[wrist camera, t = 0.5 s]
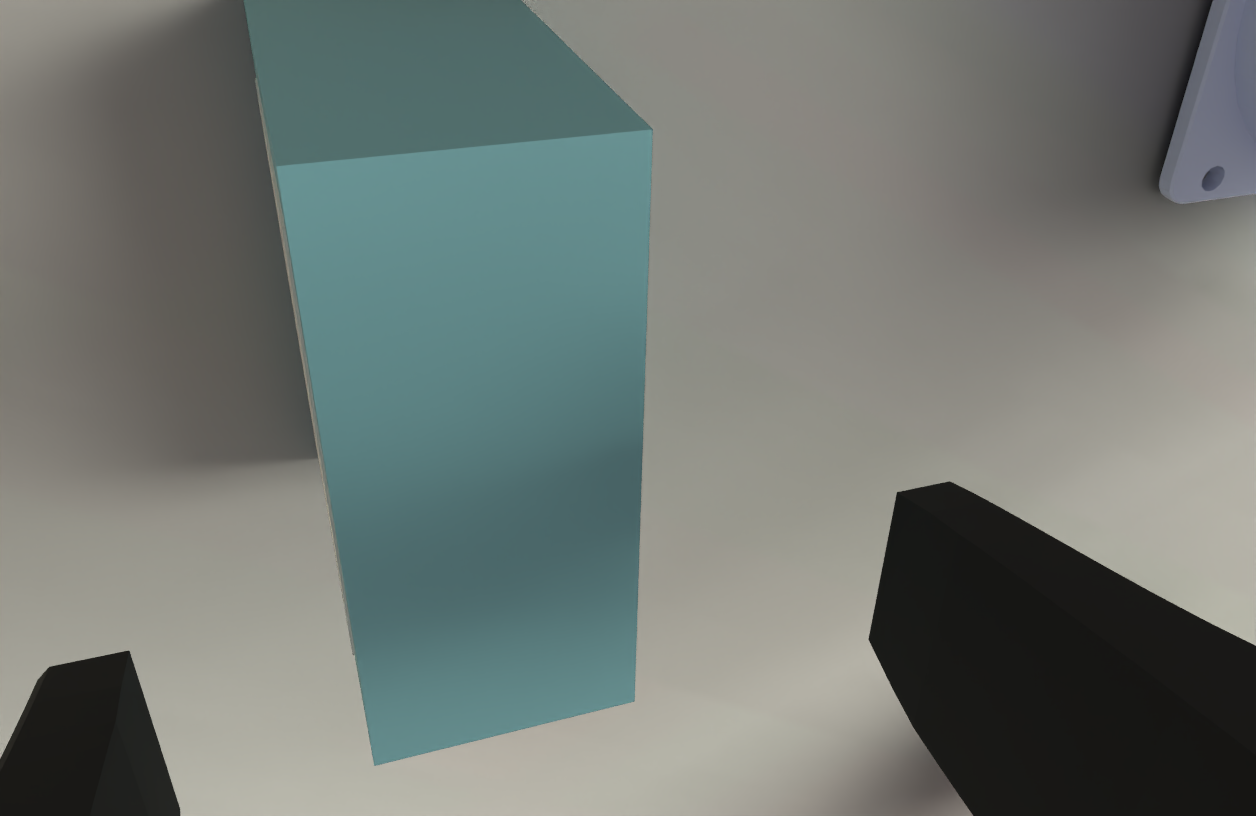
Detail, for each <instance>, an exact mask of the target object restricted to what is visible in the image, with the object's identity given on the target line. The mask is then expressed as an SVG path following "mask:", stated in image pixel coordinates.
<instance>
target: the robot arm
mask: <svg viewBox="0 0 1256 816" xmlns="http://www.w3.org/2000/svg"><path fill="white" fill-rule="evenodd" d="M1208 171H1209V172H1208ZM1207 172H1208V174H1207V176H1206V177H1205V178H1204V176H1205V174H1206V173H1207ZM1203 178H1204V179H1203ZM1159 189H1160V192H1161V194H1162V195H1163V196H1165V197H1166V198H1168V199H1169V200H1171V201H1173V202H1175V203H1178V204H1188V203H1195V202H1202V201H1210V200H1217V199H1224V198H1231V197H1239V196H1246V195H1253V194H1256V0H1213V1H1212V5H1211V8H1210V12H1209V15H1208V18H1207V22H1206V25H1205V28H1204V32H1203V35H1202V38H1201V42H1200V45H1199V48H1198V52H1197V55H1196V58H1195V62H1194V65H1193V68H1192V72H1191V75H1190V79H1189V82H1188V85H1187V89H1186V92H1185V95H1184V99H1183V102H1182V105H1181V109H1180V112H1179V115H1178V119H1177V122H1176V125H1175V129H1174V132H1173V136H1172V139H1171V142H1170V146H1169V149H1168V152H1167V156H1166V159H1165V162H1164V166H1163V169H1162V172H1161V176H1160V182H1159ZM869 641H870V643H871V645H872V647H873V649H874V652H875V654H876V656H877V658H878V660H879V662H880V664H881V666H882V668H883V670H884V672H885V674H886V676H887V678H888V680H889V682H890V684H891V686H892V688H893V690H894V692H895V694H896V696H897V698H898V699H899V701H900V703H901V705H902V707H903V709H904V711H905V713H906V714H907V716H908V718H909V720H910V722H911V724H912V726H913V727H914V729H915V730H916V732H917V733H918V735H919V737H920V738H921V740H922V741H923V743H924V744H925V746H926V747H927V749H928V750H929V752H930V753H931V755H932V756H933V757H934V759H935V760H936V762H937V763H938V765H939V766H940V768H941V769H942V771H943V772H944V774H945V775H946V777H947V778H948V779H949V781H950V782H951V784H952V785H953V787H954V788H955V790H956V791H957V793H958V794H959V796H960V797H961V799H962V800H963V801H964V803H965V804H966V806H967V807H968V809H969V810H970V811H971V813H972V814H973V816H1256V646H1255V645H1253V644H1251V643H1249V642H1247V641H1245V640H1243V639H1241V638H1239V637H1237V636H1235V635H1233V634H1231V633H1229V632H1227V631H1225V630H1223V629H1221V628H1219V627H1217V626H1215V625H1213V624H1211V623H1209V622H1207V621H1205V620H1203V619H1201V618H1199V617H1197V616H1195V615H1193V614H1192V613H1190V612H1188V611H1186V610H1184V609H1182V608H1180V607H1178V606H1176V605H1174V604H1172V603H1171V602H1169V601H1167V600H1165V599H1163V598H1161V597H1159V596H1158V595H1156V594H1154V593H1152V592H1150V591H1148V590H1147V589H1145V588H1143V587H1141V586H1139V585H1137V584H1136V583H1134V582H1132V581H1130V580H1128V579H1127V578H1125V577H1123V576H1121V575H1119V574H1117V573H1116V572H1114V571H1112V570H1110V569H1108V568H1107V567H1105V566H1103V565H1101V564H1100V563H1098V562H1096V561H1094V560H1092V559H1091V558H1089V557H1087V556H1085V555H1084V554H1082V553H1080V552H1078V551H1076V550H1075V549H1073V548H1071V547H1069V546H1068V545H1066V544H1064V543H1062V542H1061V541H1059V540H1057V539H1055V538H1054V537H1052V536H1050V535H1048V534H1046V533H1045V532H1043V531H1041V530H1039V529H1038V528H1036V527H1034V526H1032V525H1031V524H1029V523H1027V522H1025V521H1023V520H1022V519H1020V518H1018V517H1016V516H1014V515H1013V514H1011V513H1009V512H1007V511H1005V510H1004V509H1002V508H1000V507H998V506H996V505H995V504H993V503H991V502H989V501H987V500H985V499H983V498H982V497H980V496H978V495H976V494H974V493H972V492H970V491H968V490H966V489H964V488H962V487H960V486H958V485H956V484H954V483H952V482H945V483H940V484H935V485H930V486H925V487H921V488H916V489H911V490H906V491H901V492H897V495H896V500H895V506H894V511H893V516H892V521H891V526H890V531H889V537H888V542H887V547H886V552H885V557H884V563H883V568H882V573H881V578H880V583H879V588H878V594H877V599H876V604H875V609H874V614H873V619H872V625H871V630H870V635H869ZM0 816H180V807H179V804H178V801H177V798H176V795H175V792H174V789H173V786H172V782H171V779H170V776H169V773H168V770H167V767H166V764H165V761H164V757H163V754H162V751H161V748H160V745H159V742H158V739H157V736H156V732H155V729H154V726H153V723H152V720H151V717H150V714H149V711H148V707H147V704H146V701H145V698H144V695H143V692H142V689H141V686H140V683H139V679H138V676H137V673H136V670H135V667H134V664H133V661H132V658H131V654H130V651H124V652H119V653H114V654H110V655H105V656H100V657H95V658H90V659H85V660H80V661H76V662H71V663H66V664H61V665H56V666H51V667H49V668H48V669H47V670H46V671H45V672H44V673H43V675H42V676H41V677H40V678H39V679H38V681H37V683H36V685H35V687H34V689H33V691H32V694H31V696H30V698H29V700H28V702H27V705H26V707H25V709H24V711H23V713H22V715H21V717H20V719H19V721H18V724H17V726H16V728H15V730H14V732H13V734H12V736H11V738H10V740H9V742H8V744H7V746H6V748H5V750H4V752H3V754H2V756H1V758H0Z"/></svg>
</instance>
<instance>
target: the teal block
mask: <svg viewBox="0 0 1256 816" xmlns="http://www.w3.org/2000/svg"><path fill="white" fill-rule="evenodd" d="M243 1H244V7H245V13H246V19H247V25H248V31H249V37H250V43H251V49H252V55H253V61H254V67H255V73H256V79H255V84H256V90H257V96H258V102H259V108H260V114H261V120H262V126H263V132H264V138H265V144H266V150H267V156H268V162H269V168H270V174H271V180H272V186H273V192H274V198H275V204H276V210H277V216H278V222H279V228H280V234H281V239H282V245H283V251H284V257H285V263H286V269H287V275H288V281H289V287H290V293H291V299H292V305H293V311H294V317H295V323H296V329H297V335H298V341H299V347H300V353H301V359H302V365H303V371H304V377H305V383H306V389H307V395H308V401H309V407H310V413H311V419H312V425H313V431H314V437H315V443H316V448H317V454H318V460H319V465H320V471H321V477H322V482H323V488H324V494H325V499H326V505H327V511H328V516H329V522H330V528H331V533H332V539H333V545H334V550H335V556H336V562H337V567H338V573H339V579H340V584H341V590H342V596H343V601H344V607H345V613H346V618H347V624H348V630H349V635H350V641H351V647H352V652H353V655H355V660H356V665H357V671H358V677H359V682H360V688H361V693H362V699H363V705H364V710H365V716H366V721H367V727H368V733H369V738H370V744H371V750H372V755H373V761H374V766H376V765H380V764H384V763H388V762H392V761H396V760H400V759H404V758H408V757H412V756H416V755H420V754H424V753H428V752H432V751H436V750H440V749H444V748H448V747H452V746H457V745H461V744H465V743H469V742H473V741H477V740H481V739H485V738H489V737H493V736H497V735H501V734H505V733H509V732H513V731H517V730H521V729H525V728H529V727H533V726H537V725H541V724H545V723H549V722H553V721H557V720H561V719H565V718H570V717H574V716H578V715H582V714H586V713H590V712H594V711H598V710H602V709H606V708H610V707H614V706H618V705H622V704H626V703H630V702H634V700H635V669H636V637H637V606H638V575H639V543H640V512H641V481H642V449H643V418H644V386H645V355H646V324H647V292H648V261H649V229H650V198H651V167H652V135H653V129H652V128H651V127H650V126H649V125H648V124H647V123H646V122H645V121H644V120H643V119H641V118H640V117H639V116H638V115H637V114H636V113H635V112H634V111H633V110H632V109H631V108H630V107H629V106H628V105H627V104H626V103H625V102H624V101H623V100H622V99H621V98H620V97H619V96H618V95H617V94H616V93H615V92H614V91H613V90H612V89H611V88H610V87H609V86H608V85H607V84H606V83H605V82H604V81H603V80H602V79H601V78H600V77H599V76H598V75H597V74H596V73H595V72H594V71H593V70H592V69H591V68H589V67H588V66H587V65H586V64H585V63H584V62H583V61H582V60H581V59H580V58H579V57H578V56H577V55H576V54H575V53H574V52H573V51H572V50H571V49H570V48H569V47H568V46H567V45H566V44H565V43H564V42H563V41H562V40H561V39H560V38H559V37H558V36H557V35H556V34H555V33H554V32H553V31H552V30H551V29H550V28H549V27H548V26H547V25H546V24H545V23H544V22H543V21H542V20H541V19H540V18H538V17H537V16H536V15H535V14H534V13H533V12H532V11H531V10H530V9H529V8H528V7H527V6H526V5H525V4H524V3H523V2H522V1H521V0H243Z"/></svg>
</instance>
